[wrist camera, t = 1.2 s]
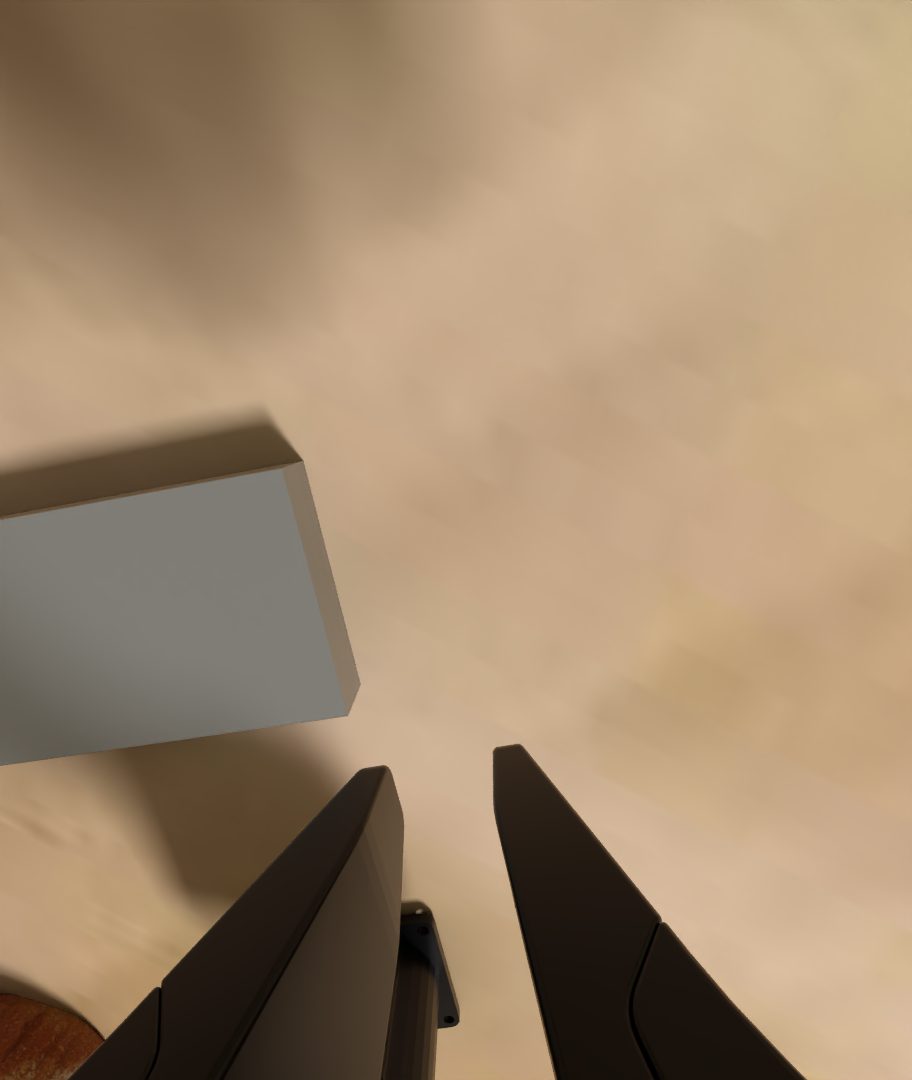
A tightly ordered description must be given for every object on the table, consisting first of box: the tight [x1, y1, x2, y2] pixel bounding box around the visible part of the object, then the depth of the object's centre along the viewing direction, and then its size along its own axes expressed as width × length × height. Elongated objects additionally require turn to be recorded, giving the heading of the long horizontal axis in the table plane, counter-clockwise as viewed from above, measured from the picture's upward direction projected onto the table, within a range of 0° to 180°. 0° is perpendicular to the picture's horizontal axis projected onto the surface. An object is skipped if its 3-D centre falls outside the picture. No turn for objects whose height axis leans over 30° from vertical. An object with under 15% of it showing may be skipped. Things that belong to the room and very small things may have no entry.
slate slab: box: [0, 461, 361, 766], centre depth 19 cm, size 9×16×3 cm, turn 100°
